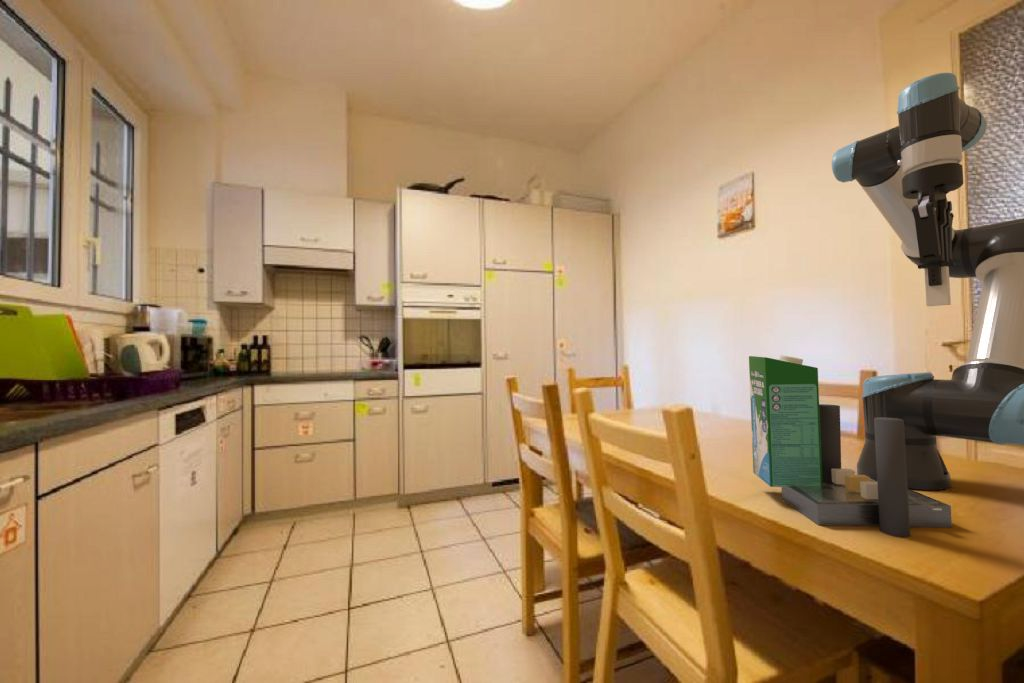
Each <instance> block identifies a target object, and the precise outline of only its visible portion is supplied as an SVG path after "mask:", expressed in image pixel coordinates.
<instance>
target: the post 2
mask: <svg viewBox="0 0 1024 683" xmlns="http://www.w3.org/2000/svg"><path fill="white" fill-rule="evenodd" d="M874 429H875V448H876V467H877V486H878V504H879V523H880V526H879V531H880V532H881V533H883V534H885V535H888V536H892V537H898V538H909V537H911V527H910V524H909V505H908V489H909V488H908V487H907V468H906V450H905V432H904V420H903V419H898V418H885V417H878V418H874Z"/></svg>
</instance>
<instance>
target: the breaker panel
mask: <svg viewBox="0 0 1024 683" xmlns="http://www.w3.org/2000/svg"><path fill="white" fill-rule="evenodd" d="M870 482H877V481H875V480H873V479H870ZM822 483H823V486H798V485H794V486H788V487H781V496H782V497H781V499H782V501H783V500H784V501H785V502H784V501H783V502H784V503H786V504H787V503H788V504H787V505H788V506H790V507H791V508H793V509H795V510H796V511H797V512H798V513H800V514H802V515H803V516H805V517H806V518H807V519H809V520H810V521H812V522H813V523H815V524H816V525H817V526H838V527H839V526H840V527H841V526H843V527H844V526H845V527H846V526H847V527H880V523H879V504H878V499H865V498H863V497H861V491H849V490H847V489H846V485H845V484H835V483H833V482H822ZM908 505H909V524H910V528H948V529H949V528H953V523H952V519H953V518H952V506H951V505H950V504H948V503H945V502H943V501H940V500H938V499H935V498H932V497H930V496H927V495H926V494H923V493H920V492H917V491H915V490H914V489H910V488H908Z"/></svg>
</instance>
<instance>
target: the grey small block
mask: <svg viewBox="0 0 1024 683" xmlns="http://www.w3.org/2000/svg"><path fill="white" fill-rule="evenodd" d="M831 472H832V482H833V483H835V484H845V475H856V471H855V470H853V469H851V468H841V469H831Z"/></svg>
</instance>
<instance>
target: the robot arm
mask: <svg viewBox="0 0 1024 683" xmlns="http://www.w3.org/2000/svg"><path fill="white" fill-rule="evenodd" d="M960 89H961V88H960V86H959V85H958V77H957V76H956V74H954V73H951V72H941V73H940V72H939V73H935V74H931V75H928V76H925V77H922V78H920V79H918V80H917V79H916V80H915V81H914V82H911V83H909V85H907V86H906V87H905V88H903V89H902V90H901V91H900V93H899V94H898V97H897V98H898V99H897V111H896V115H897V118H898V125H897V126H895V127H893V128H889V129H886V130H885V131H881V132H878V133H877V134H874V135H871V136H869V137H865V138H863V139H860V140H856V141H854V142H852V143H850V144H847V145H845V146H843V147H841V148H839V149H837V150H836V151H835V152H834V154H833V156H832V159H831V171H832V174H833V176H834V178H835V179H836V180H837V181H838V182H841V183H848V182H853V181H856V182H857V183H858V184H859V185H860V186H861V188H862V189H863V191H864V192H865V193H866V195H867V196H868V198H869V199H870V200H871V201H872V203H873V204H874V205H875V207H876V208H877V210H879V212H880V214H881V215H882V217H883V218H884V220H886V222H887V224H889V226H890V227H891V228H892V230H893V231H894V233H895V234H896V236H897V237H898V238H899V240H900V241H901V243H900V244H901V245H900V249H901V251H902V253H903V254H904V256H906V258H907V259H908V260H909V261H911V262H912V263H913V264H915V265H916V266H917V269H918V270H921V269H923V270H924V282H925V283H924V284H925V300H926V302H925V303H926V307H937V306H939V307H940V306H948V305H949V306H951V305H952V303H951V285H950V278H953V279H966V278H968V279H969V278H976V279H978V280H979V281H980V282H981V283H982V285H981V290H980V294H979V295H980V296H979V300H978V305H977V309H976V313H975V318H974V324H973V327H972V332H971V336H970V342H969V346H968V351H967V352H968V353H967V354H966V355H967V357H966V361H965V362H964V363H963V364H960V365H958V366H956V367H955V368H954V369H953V371H952V375H951V378H950V379H935V376H934V375H933V373H932V372H929V371H927V372H913V373H912V372H911V373H900V374H899V373H898V374H890V375H889V374H888V375H878V376H871V377H867V378H866V379H865V380H864V381H863V382H862V383H863V384H862V396H861V399H862V406H863V407H862V408H863V409H862V410H863V423H864V425H863V426H864V438H865V439H864V443H863V447H862V449H861V452H860V454H859V457H858V461H857V463H856V475H866V476H868V477H870V479H873V480H875V481H877V467H876V448H875V429H874V418H878V417H885V418H898V419H903V420H904V432H905V450H906V468H907V487H908V489H911V490H927V491H928V490H929V491H936V490H946V489H949V488H950V487H952V483H951V481H952V480H951V475H950V472H949V470H948V468H947V466H946V464H945V462H944V460H943V457H942V455H941V453H940V451H939V449H938V444H937V437H944V438H945V437H946V438H952V439H953V438H954V439H960V440H968V441H969V440H970V441H976V442H977V441H978V442H984V443H993V444H996V445H1015V446H1017V445H1018V446H1024V217H1022V218H1017V219H1012V220H1006V221H1000V222H996V223H995V222H994V223H991V224H990V223H989V224H985V225H979V226H974V227H969V228H968V227H967V228H963V229H954V228H953V223H954V222H953V220H954V216H955V215H954V213H953V212H952V211H953V204H952V200H949V201H948V199H947V194H949V193H951V192H953V191H956V190H957V189H960V188H961V187H962V186H963V185H964V170H963V169H964V167H963V164H960V163H962V161H963V157H964V156H963V152H965V151H967V150H969V149H971V148H973V147H974V146H976V144H978V143H979V142H980V141H981V139H983V137H984V135H985V133H986V131H987V126H988V122H987V120H986V118H985V116H984V114H983V113H982V112H981V111H980V110H979V109H978V108H976V107H974V106H970V105H969V104H967V102H965V101H964V100H963V99H961V98H960V96H959V90H960Z"/></svg>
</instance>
